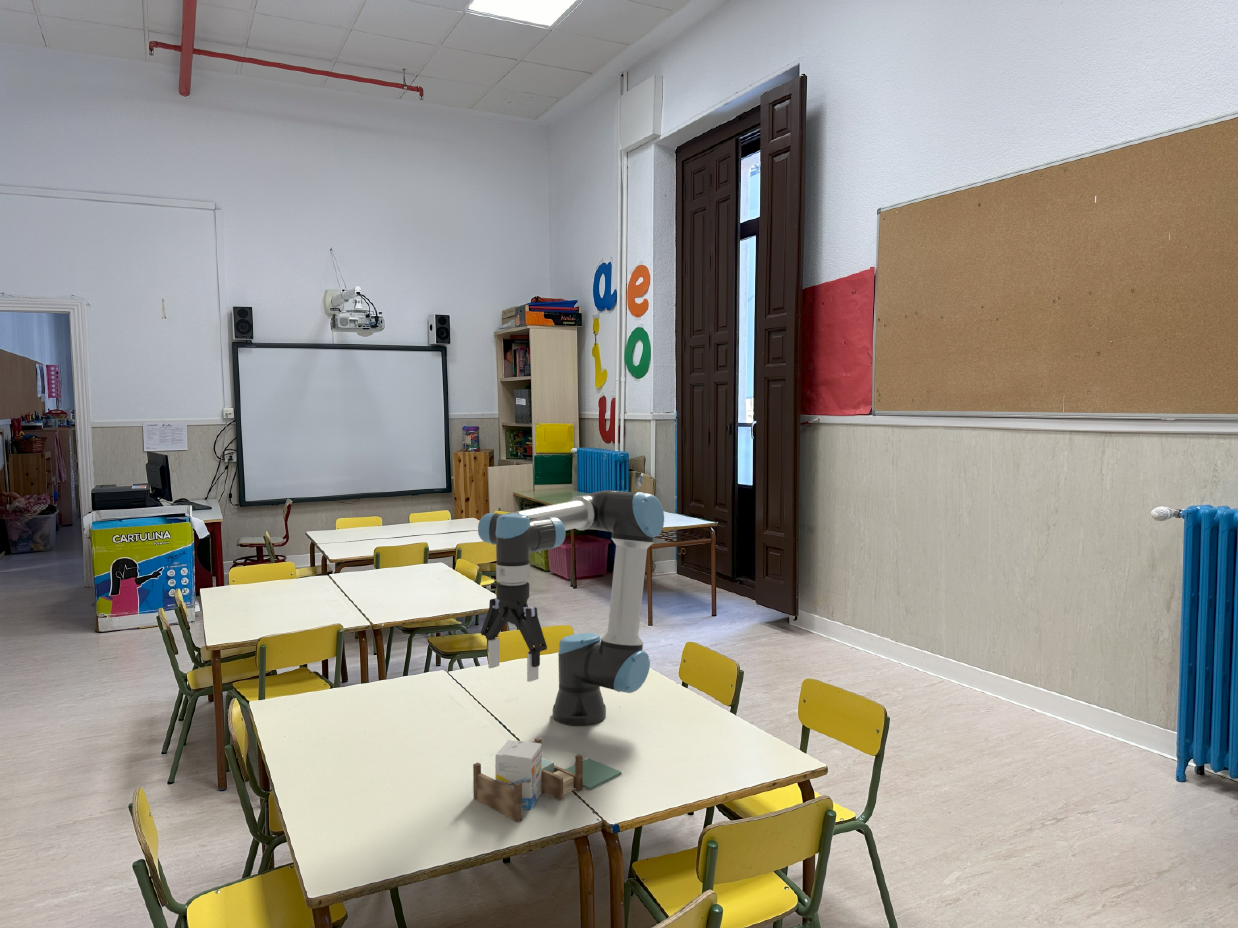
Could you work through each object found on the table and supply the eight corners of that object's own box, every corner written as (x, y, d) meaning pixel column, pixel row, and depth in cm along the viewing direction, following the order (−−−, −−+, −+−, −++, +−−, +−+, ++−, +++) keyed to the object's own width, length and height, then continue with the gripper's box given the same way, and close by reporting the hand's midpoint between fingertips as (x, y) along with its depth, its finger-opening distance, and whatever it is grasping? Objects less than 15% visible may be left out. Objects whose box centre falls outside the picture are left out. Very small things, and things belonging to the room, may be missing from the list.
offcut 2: (544, 790, 185) (544, 776, 184) (558, 783, 188) (558, 770, 188) (559, 797, 181) (559, 783, 181) (573, 790, 184) (573, 777, 184)
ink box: (531, 810, 175) (531, 758, 174) (494, 806, 177) (494, 754, 176) (542, 791, 183) (542, 741, 183) (507, 788, 185) (507, 738, 184)
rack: (473, 798, 180) (473, 764, 179) (538, 769, 195) (538, 737, 194) (517, 821, 170) (517, 785, 169) (582, 789, 185) (582, 755, 184)
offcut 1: (525, 772, 188) (525, 762, 188) (537, 766, 192) (537, 756, 192) (542, 778, 185) (542, 768, 185) (554, 772, 189) (554, 762, 189)
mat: (556, 775, 191) (556, 772, 191) (588, 760, 200) (588, 757, 200) (589, 790, 184) (589, 787, 184) (621, 773, 192) (621, 771, 192)
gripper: (465, 576, 189) (466, 665, 190) (537, 593, 172) (537, 690, 173) (490, 571, 194) (491, 658, 196) (562, 587, 178) (562, 681, 179)
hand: (512, 673), depth 184 cm, fingers open, 13 cm apart
